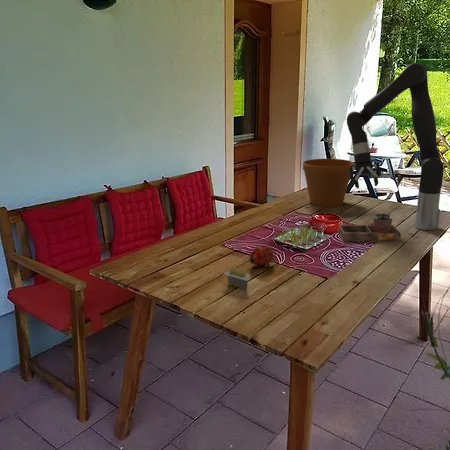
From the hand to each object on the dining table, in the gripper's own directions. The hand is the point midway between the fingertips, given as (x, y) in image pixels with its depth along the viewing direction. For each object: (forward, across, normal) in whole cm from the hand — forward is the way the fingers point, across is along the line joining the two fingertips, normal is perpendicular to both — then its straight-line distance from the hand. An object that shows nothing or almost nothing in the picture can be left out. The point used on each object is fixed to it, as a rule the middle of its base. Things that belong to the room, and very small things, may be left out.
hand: (367, 187), depth 214 cm
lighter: (+23, 0, -10) cm, 26 cm away
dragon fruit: (+28, -55, -43) cm, 75 cm away
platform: (+33, -64, -60) cm, 94 cm away
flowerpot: (+2, -12, +48) cm, 50 cm away
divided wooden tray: (+23, -6, -10) cm, 26 cm away
